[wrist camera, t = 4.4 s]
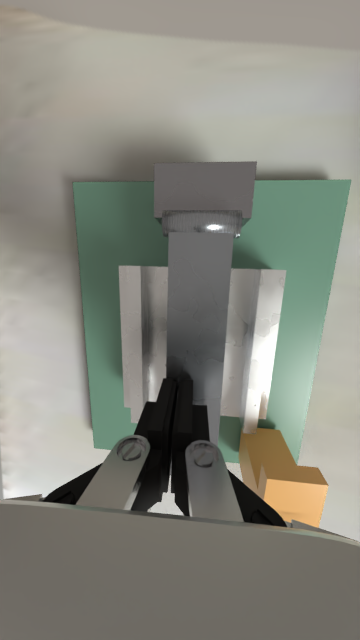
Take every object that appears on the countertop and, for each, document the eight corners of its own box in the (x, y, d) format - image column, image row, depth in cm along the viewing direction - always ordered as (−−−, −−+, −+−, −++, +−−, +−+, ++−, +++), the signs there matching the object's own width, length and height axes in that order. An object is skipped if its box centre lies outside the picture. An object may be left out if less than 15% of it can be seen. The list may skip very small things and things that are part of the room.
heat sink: (282, 189, 14) (315, 157, 10) (256, 398, 17) (272, 436, 13) (129, 189, 15) (103, 161, 11) (134, 388, 18) (116, 421, 14)
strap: (166, 214, 11) (162, 206, 10) (238, 214, 11) (243, 206, 9) (162, 459, 14) (158, 476, 13) (218, 465, 13) (220, 483, 12)
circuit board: (336, 188, 15) (351, 179, 13) (289, 454, 20) (296, 469, 18) (83, 189, 16) (72, 181, 15) (101, 435, 21) (94, 448, 20)
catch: (283, 408, 17) (328, 485, 11) (274, 460, 18) (311, 556, 12) (243, 404, 17) (267, 478, 11) (238, 456, 18) (256, 548, 12)
